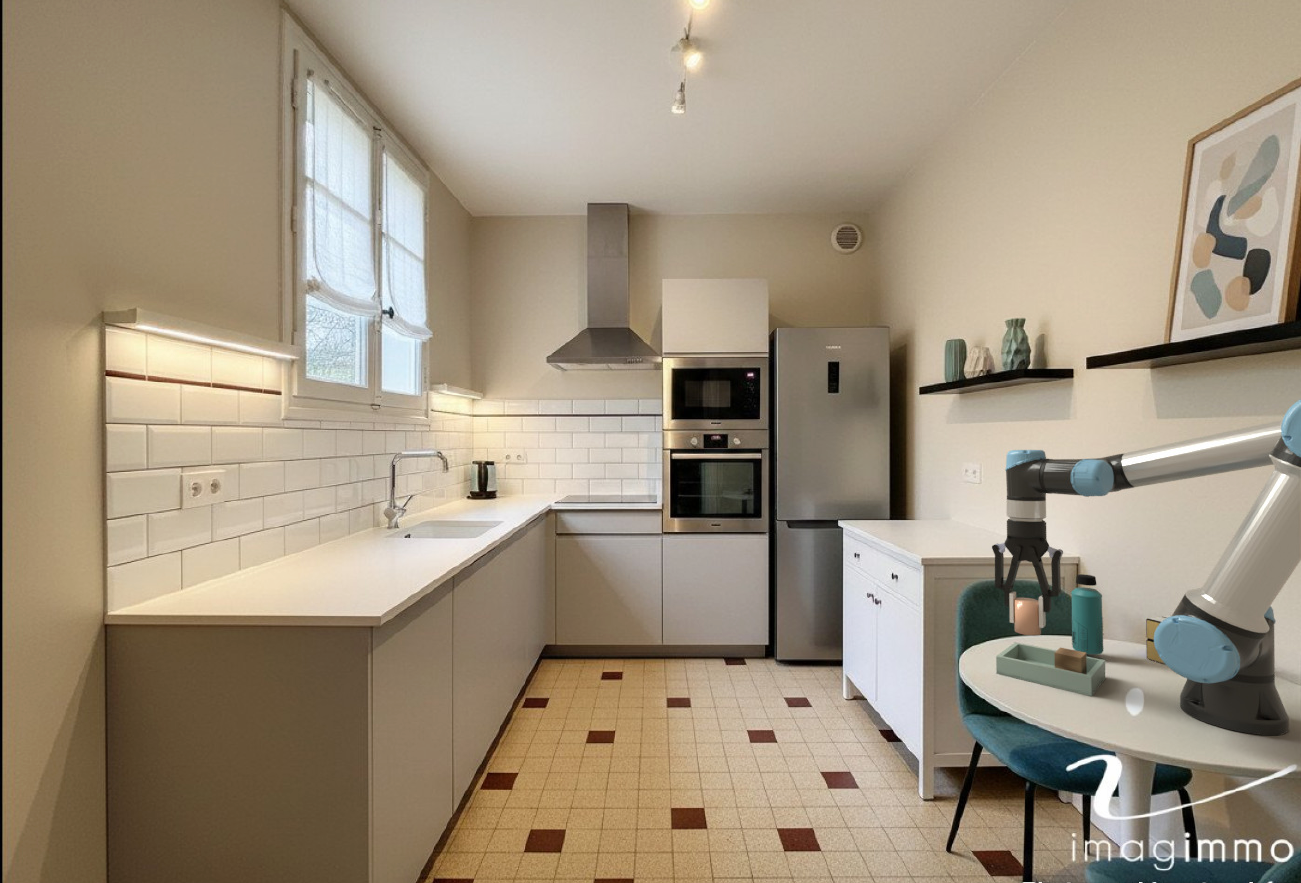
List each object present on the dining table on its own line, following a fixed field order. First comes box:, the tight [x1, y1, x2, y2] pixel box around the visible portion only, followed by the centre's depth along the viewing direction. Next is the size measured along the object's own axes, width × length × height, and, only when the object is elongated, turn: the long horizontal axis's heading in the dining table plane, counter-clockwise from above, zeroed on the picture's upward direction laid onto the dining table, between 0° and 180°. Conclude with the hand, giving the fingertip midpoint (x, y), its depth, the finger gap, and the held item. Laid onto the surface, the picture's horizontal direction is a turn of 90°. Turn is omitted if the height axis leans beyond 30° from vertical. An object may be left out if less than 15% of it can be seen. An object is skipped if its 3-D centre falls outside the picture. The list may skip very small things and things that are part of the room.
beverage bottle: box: [1070, 573, 1104, 655], centre depth 152 cm, size 6×7×20 cm
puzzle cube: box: [1145, 614, 1172, 666], centre depth 147 cm, size 10×10×10 cm
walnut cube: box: [1055, 647, 1088, 675], centre depth 139 cm, size 5×5×5 cm
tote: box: [995, 642, 1106, 697], centre depth 140 cm, size 18×14×4 cm
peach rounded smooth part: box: [1013, 597, 1042, 636], centre depth 137 cm, size 5×5×7 cm
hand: (1027, 623), depth 137 cm, fingers closed on peach rounded smooth part, 5 cm apart
